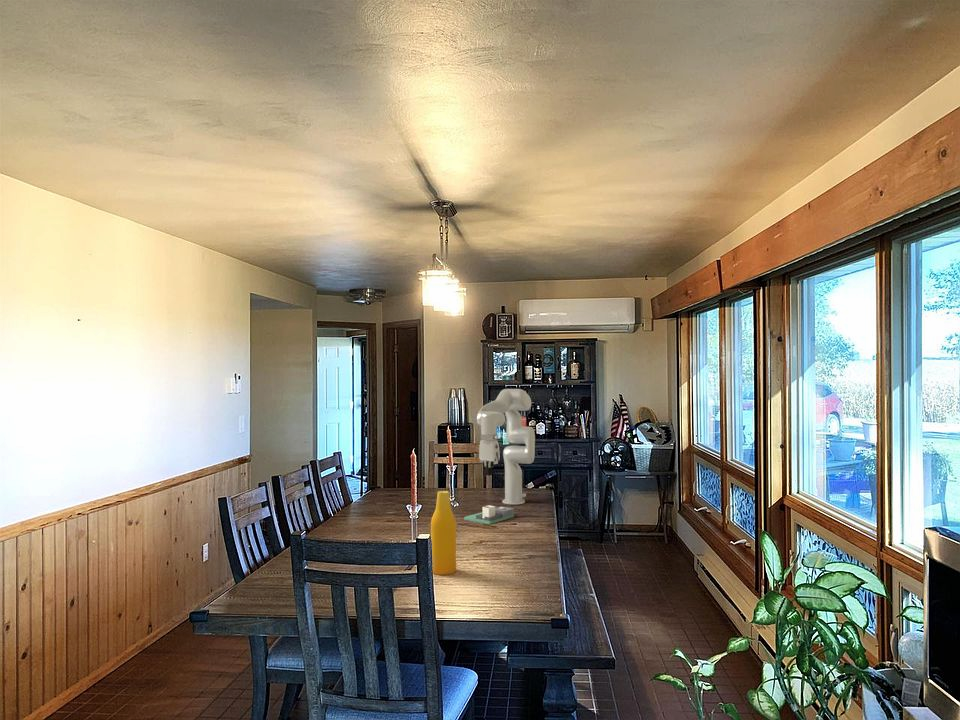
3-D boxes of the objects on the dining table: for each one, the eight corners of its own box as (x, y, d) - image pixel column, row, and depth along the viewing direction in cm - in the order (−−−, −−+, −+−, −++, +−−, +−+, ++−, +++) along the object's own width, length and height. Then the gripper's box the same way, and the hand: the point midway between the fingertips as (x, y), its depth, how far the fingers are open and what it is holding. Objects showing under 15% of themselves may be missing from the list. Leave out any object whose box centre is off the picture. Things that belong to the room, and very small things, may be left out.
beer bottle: (442, 566, 240) (442, 488, 241) (461, 570, 234) (461, 491, 235) (425, 572, 233) (425, 492, 234) (444, 577, 227) (444, 495, 228)
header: (488, 515, 320) (488, 511, 320) (501, 517, 315) (501, 514, 315) (476, 518, 313) (476, 515, 313) (489, 521, 307) (489, 517, 307)
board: (489, 512, 332) (489, 510, 332) (514, 516, 321) (514, 514, 321) (464, 519, 316) (464, 517, 316) (489, 524, 306) (489, 521, 306)
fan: (501, 512, 326) (501, 505, 327) (514, 514, 321) (514, 507, 321) (491, 515, 320) (491, 507, 320) (504, 517, 315) (504, 510, 315)
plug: (488, 515, 317) (488, 504, 317) (495, 516, 314) (495, 505, 314) (482, 517, 313) (482, 506, 313) (488, 518, 310) (488, 507, 311)
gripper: (505, 438, 314) (505, 475, 314) (481, 436, 323) (482, 472, 323) (496, 439, 308) (496, 477, 308) (472, 437, 317) (472, 474, 317)
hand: (489, 475), depth 315 cm, fingers closed
